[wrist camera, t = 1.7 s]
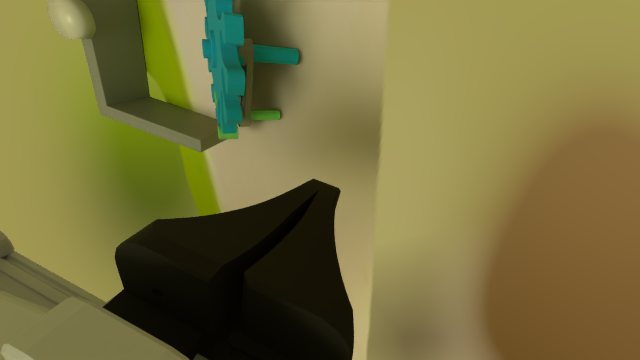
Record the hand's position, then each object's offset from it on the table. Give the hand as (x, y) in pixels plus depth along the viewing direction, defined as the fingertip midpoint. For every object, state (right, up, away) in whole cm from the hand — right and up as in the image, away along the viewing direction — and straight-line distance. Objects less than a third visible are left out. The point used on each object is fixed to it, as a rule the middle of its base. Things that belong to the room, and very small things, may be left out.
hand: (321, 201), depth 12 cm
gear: (-5, +10, +8) cm, 14 cm away
